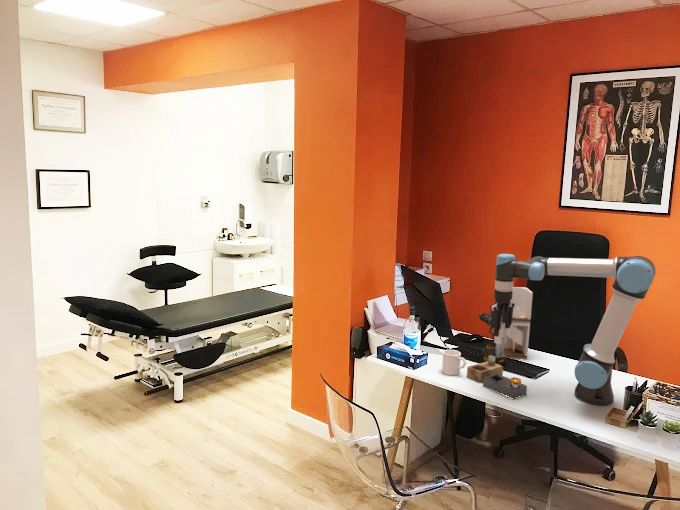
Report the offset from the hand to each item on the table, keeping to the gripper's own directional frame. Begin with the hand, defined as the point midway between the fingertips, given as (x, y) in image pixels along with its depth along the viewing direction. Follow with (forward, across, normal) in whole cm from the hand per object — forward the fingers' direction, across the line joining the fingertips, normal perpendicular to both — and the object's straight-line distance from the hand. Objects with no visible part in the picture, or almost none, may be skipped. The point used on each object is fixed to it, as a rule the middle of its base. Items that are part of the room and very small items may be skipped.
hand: (500, 342), depth 234 cm
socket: (+21, 0, +4) cm, 21 cm away
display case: (+21, -40, -23) cm, 50 cm away
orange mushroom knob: (+20, 0, +9) cm, 22 cm away
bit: (+6, 0, 0) cm, 6 cm away
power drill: (+21, -21, -23) cm, 37 cm away
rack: (+20, -4, -11) cm, 24 cm away
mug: (+21, +5, -21) cm, 30 cm away
